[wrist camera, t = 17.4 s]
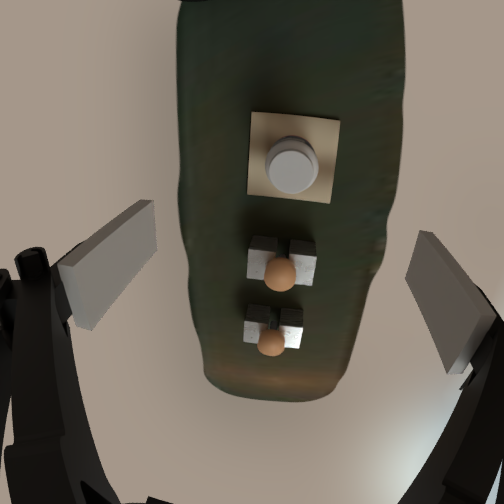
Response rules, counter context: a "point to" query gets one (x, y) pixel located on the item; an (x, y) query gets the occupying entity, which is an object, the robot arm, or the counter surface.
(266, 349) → the plunger
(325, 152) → the coaster
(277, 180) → the pill bottle
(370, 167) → the counter surface
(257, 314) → the set of grey blocks
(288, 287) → the plunger
